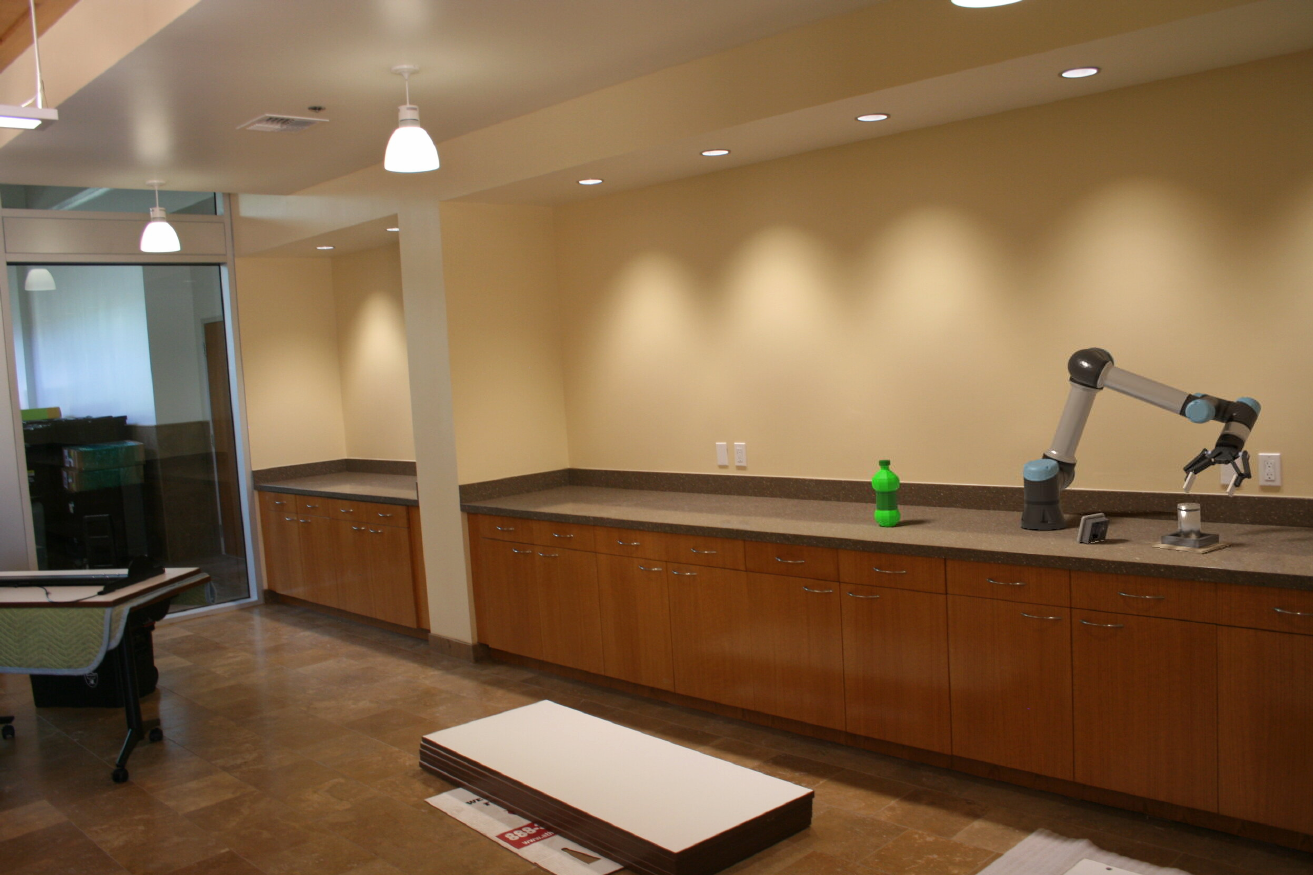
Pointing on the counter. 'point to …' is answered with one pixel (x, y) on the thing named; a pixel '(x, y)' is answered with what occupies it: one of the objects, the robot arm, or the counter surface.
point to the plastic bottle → (886, 495)
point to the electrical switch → (1093, 528)
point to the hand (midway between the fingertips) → (1206, 492)
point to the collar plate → (1190, 542)
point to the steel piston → (1189, 520)
